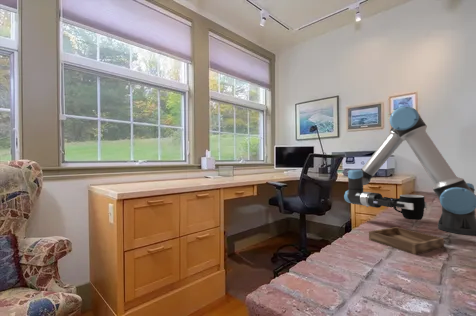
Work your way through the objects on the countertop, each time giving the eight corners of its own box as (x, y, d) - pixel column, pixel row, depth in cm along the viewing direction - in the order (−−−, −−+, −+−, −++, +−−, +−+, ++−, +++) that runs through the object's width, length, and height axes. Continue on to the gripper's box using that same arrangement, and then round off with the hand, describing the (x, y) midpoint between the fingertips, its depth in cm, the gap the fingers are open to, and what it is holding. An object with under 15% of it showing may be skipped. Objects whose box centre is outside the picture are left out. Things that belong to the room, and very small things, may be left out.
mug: (427, 218, 104) (426, 195, 104) (423, 221, 98) (422, 197, 98) (395, 214, 112) (394, 193, 113) (390, 217, 106) (389, 195, 107)
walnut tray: (396, 234, 106) (396, 226, 106) (443, 247, 89) (443, 238, 89) (369, 239, 98) (368, 231, 99) (415, 254, 82) (415, 244, 82)
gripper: (385, 205, 126) (434, 212, 105) (357, 208, 118) (404, 216, 97) (385, 191, 126) (433, 195, 106) (357, 193, 118) (403, 198, 97)
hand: (419, 205), depth 101 cm, fingers closed on mug, 9 cm apart
